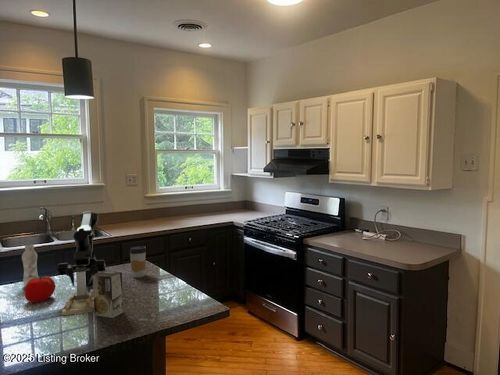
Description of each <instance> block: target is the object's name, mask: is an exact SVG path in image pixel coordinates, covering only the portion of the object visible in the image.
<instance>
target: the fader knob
mask: <svg viewBox="0 0 500 375" xmlns="http://www.w3.org/2000/svg"><path fill="white" fill-rule="evenodd" d="M85 271H86V267H85V266H80V267H76V270H75V275H76V276H75V279H76V281H75V282H76V283H75V284H76V293H75V296H74V299H83V298H88V296H89V293H90V291H87V286H86V275H85Z"/></svg>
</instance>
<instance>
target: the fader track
mask: <svg viewBox="0 0 500 375" xmlns="http://www.w3.org/2000/svg"><path fill="white" fill-rule="evenodd" d="M75 293H77V290H74V291H72V294H70V295H69V296H68V298H67V300H66V302H65V304H64V306H63V309H62V310H61V316H69V315H74V314H75V315H76V314H83V313H84V314H86V313H92V312H94V292H93V289H90V290H89V296H88V298H83V299H74V296H75Z"/></svg>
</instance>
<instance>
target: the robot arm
mask: <svg viewBox="0 0 500 375" xmlns="http://www.w3.org/2000/svg"><path fill="white" fill-rule="evenodd" d="M79 222H80V226H79V227H77V229H76V231H75V232H74V234H73V240H74V244H75V246H76V251H75V252H74V254H73V256H74V257H73V262H74V265H73V264H69V262H61V263H58V264H57V267H56V269H57V273H58V275H59V276H66V277H69V279H70V281H71V286H72V287H75V274H74V271H76V267H80V266H85V267H86V271H85V275H86V287H87V286H91V285H92V286H93V275H95V274H97V273H99V272H101V271H106V262H105V260H104V259H98V260H97V259H96V255H95V253H94V251H93V247H94V238H95V236H96V235H95V232H94V230H95V229H96V228H97V226H98V223H99V214H98V213H94V211H83V212H82V213H81V214H80V217H79Z"/></svg>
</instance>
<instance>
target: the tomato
mask: <svg viewBox="0 0 500 375" xmlns="http://www.w3.org/2000/svg"><path fill="white" fill-rule="evenodd" d="M24 287H25V288H24V298H25V300H27V301H28V302H29V303H39V302H43V301H46V300H48V299H50V297H52V296H53V294H55V293H54V292H55V290H56V282H55V281H54V279H53V278H52V277H51V276H48V275H46V276H38V277H37V278H36V277H35V278H33V279H31V280H30V281H29V282H28V283H27V284H26V286H24Z"/></svg>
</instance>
